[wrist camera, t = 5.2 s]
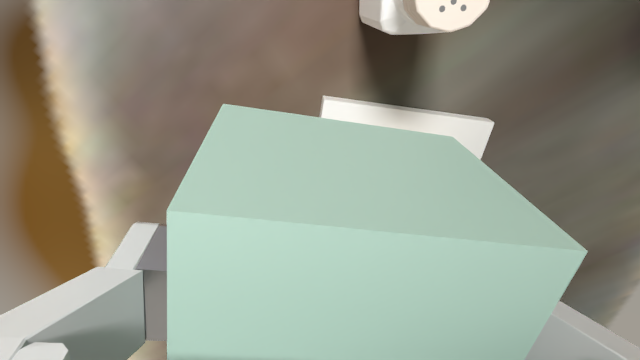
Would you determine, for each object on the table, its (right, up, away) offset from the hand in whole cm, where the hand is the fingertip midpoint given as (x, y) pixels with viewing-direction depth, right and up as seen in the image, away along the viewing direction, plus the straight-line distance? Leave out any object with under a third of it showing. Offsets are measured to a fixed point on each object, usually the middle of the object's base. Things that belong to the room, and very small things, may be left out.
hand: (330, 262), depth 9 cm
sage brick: (0, +1, +2) cm, 2 cm away
